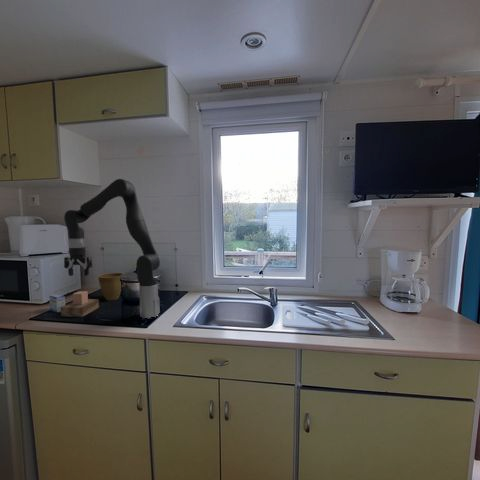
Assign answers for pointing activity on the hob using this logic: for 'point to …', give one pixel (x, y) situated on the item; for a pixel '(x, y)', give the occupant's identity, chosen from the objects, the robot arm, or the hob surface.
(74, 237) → the robot arm
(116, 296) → the plant pot
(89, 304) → the walnut plinth
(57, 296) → the medicine box
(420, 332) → the hob surface
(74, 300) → the terracotta block
